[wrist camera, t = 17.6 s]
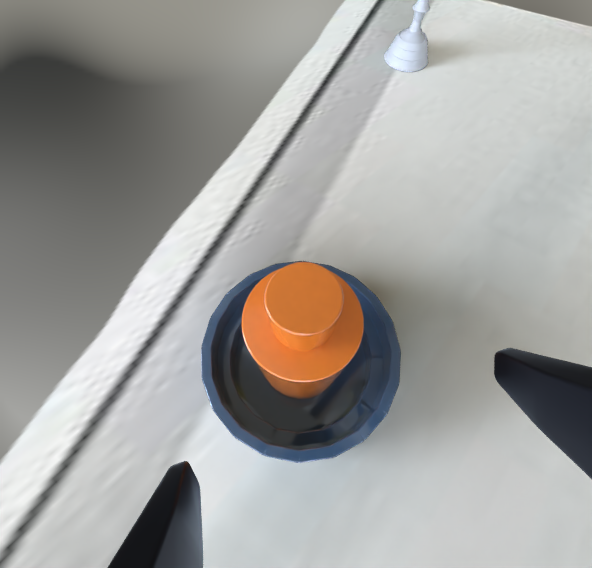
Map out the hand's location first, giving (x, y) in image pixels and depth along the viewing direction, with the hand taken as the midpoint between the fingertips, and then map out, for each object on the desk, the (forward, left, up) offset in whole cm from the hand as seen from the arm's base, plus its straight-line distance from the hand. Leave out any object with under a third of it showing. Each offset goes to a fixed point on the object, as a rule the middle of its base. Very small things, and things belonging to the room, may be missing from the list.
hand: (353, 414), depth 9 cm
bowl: (+3, -3, -13) cm, 14 cm away
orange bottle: (+3, -3, -13) cm, 14 cm away
